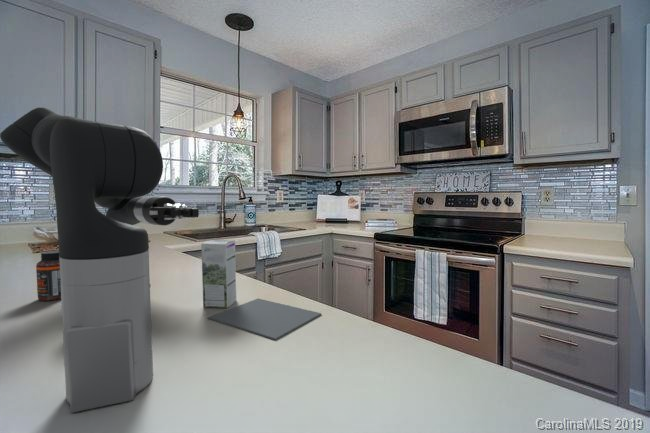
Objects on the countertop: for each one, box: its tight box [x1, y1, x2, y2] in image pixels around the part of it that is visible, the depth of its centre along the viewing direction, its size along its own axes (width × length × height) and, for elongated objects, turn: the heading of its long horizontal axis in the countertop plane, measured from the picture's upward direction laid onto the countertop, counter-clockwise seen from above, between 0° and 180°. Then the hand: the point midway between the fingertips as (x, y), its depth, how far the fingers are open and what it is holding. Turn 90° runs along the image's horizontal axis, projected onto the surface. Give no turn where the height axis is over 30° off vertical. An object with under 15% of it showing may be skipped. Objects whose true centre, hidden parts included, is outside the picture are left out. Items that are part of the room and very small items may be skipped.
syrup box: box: [200, 239, 237, 309], centre depth 72 cm, size 6×6×14 cm
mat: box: [207, 298, 322, 341], centre depth 65 cm, size 18×14×1 cm
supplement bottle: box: [35, 250, 61, 302], centre depth 77 cm, size 6×6×11 cm
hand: (195, 212), depth 76 cm, fingers closed
